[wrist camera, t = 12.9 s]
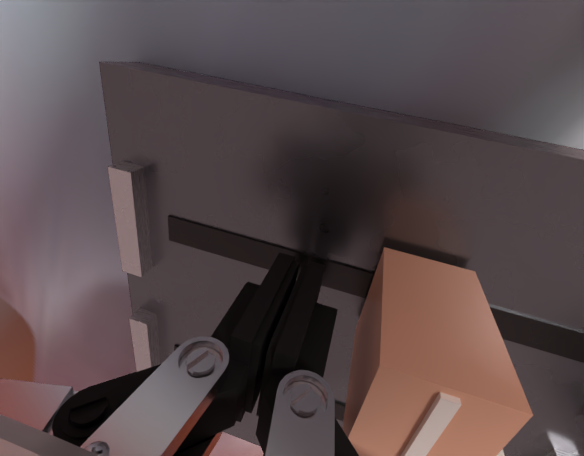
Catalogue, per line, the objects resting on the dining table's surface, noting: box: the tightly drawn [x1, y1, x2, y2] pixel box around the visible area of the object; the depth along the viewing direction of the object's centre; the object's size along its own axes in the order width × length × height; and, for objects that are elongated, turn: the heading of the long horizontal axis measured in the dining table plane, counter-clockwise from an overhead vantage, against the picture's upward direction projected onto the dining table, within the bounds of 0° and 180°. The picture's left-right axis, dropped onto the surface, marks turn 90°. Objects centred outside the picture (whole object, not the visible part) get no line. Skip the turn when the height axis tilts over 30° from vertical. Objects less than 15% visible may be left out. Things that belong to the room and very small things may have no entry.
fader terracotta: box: [342, 247, 533, 456], centre depth 10 cm, size 4×3×5 cm
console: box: [99, 62, 584, 456], centre depth 15 cm, size 20×22×3 cm
